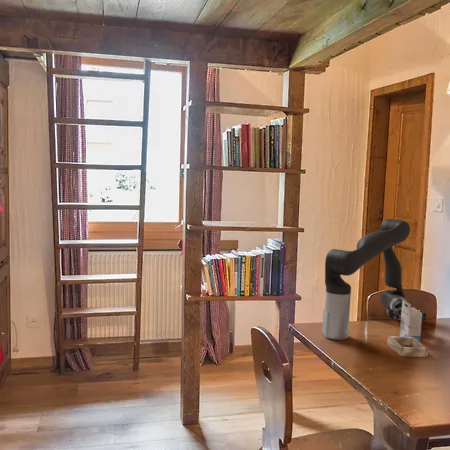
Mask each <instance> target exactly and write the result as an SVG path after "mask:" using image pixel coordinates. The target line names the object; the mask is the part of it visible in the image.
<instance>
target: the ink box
mask: <svg viewBox="0 0 450 450" xmlns="http://www.w3.org/2000/svg"><path fill="white" fill-rule="evenodd" d="M408 302H409V301H408ZM408 302H406V301H404V300H403V301H402V311H401V319H400V323H399V324H400V325H399V337H414V338H415V339H417V340H418V341H419V342H420V343H421V334H422V333H421V332H422V324H423V323H422V313H421V312H420V311H419V309H416V307H412V308H411V306H412V304H411V303H410V302H409V303H410V304H409V303H408ZM405 304H407V306H408V307H406V306H405Z"/></svg>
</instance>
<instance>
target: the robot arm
mask: <svg viewBox="0 0 450 450" xmlns="http://www.w3.org/2000/svg"><path fill="white" fill-rule="evenodd" d="M410 232H411V226H410V224H409V223H408V221H405V220H402V219H395V218H385V219H384V220H382V222H381V224H380V229H379V230H377V231H373V232H369V233H367V234H365V235H364V236H362V237H360V239H359V240H358V241H357V242H356V249H354V250H343V249H336V248H333V249H331V250H329V251H328V252H327V254H326V256H325V261H324V263H325V264H324V269H325V270H324V284H325V299H324V301H325V302H324V309H323V310H322V311H323V312H322V324H321V334H322V336H323V337H324V338H325V339H329V340H330V339H331V340H336V341H337V340H338V341H339V340H341V341H342V340H347V339H348V338H349V326H350V324H349V323H350V311H351V298H352V297H351V295H352V286H351V285H350V284H349V283H348V282H346V281H345V280H344V279H343V278H342V276H351V275H354V273H356V272H357V271H358V270H360V268H361V267H363V266H364V265H366V263H368V262H370V261H371V260H372V259H374V258H375V257H378V256H379V255H380V254H382V255H383V260H384V284H385V286H387V287H389V288H393V289H396V290H384V291H382V292H381V294H380V296H381V300H380V303H381V302H382V303H381V304H383V305H382V306H383V307H385V308H386V316H387V317H389V318H393V319H396V320H397V321H400V320H401V311H402V301H403V300H404V301H406V302H408V303H409V304H411V303H410V302H409V301H408V300H407V299H406V295H405V292H404V288H403V282H402V275H403V274H402V273H403V272H402V265H401V262H400V260H399V259H398V257H397V255H396V253H395V251H394V248H393V246H396V245H398V244H401V243H403V242H405V241H406V240H407V238H408V237H409V236H410ZM405 306H406V307H408V306H407V304H405ZM411 308H413V306H412V305H411ZM418 311H420V312H421V313H422V322H424V321H426V320H427V312H425V311H424V310H423V309H418Z"/></svg>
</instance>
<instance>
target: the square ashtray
mask: <svg viewBox="0 0 450 450" xmlns="http://www.w3.org/2000/svg"><path fill="white" fill-rule="evenodd" d="M386 343H387V346H388V347H390V348H391V349H392V350H393V351H394V352H395V353H396V352H397V353H396V354H398V355H399V356H400V357H413V358H419V357H420V358H423V357H424V358H429V357H428V356H429V347H427V346H426V345H425V344H423V343H422V342H421V341H420V342H419V341H418V340H417V339H415V338H414V337H400V336H392V335H388V336H387V342H386ZM406 345H407V346H406Z"/></svg>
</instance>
